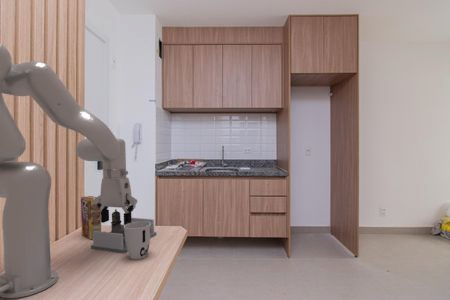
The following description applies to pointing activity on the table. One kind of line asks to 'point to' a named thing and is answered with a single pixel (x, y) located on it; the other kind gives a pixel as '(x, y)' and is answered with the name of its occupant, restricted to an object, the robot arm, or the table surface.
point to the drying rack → (115, 238)
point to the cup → (137, 238)
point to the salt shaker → (116, 223)
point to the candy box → (90, 216)
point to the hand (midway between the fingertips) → (116, 222)
